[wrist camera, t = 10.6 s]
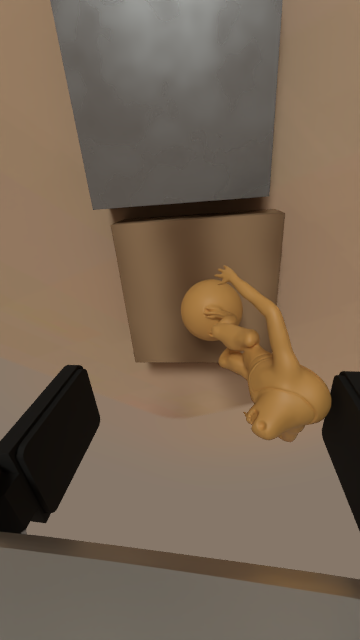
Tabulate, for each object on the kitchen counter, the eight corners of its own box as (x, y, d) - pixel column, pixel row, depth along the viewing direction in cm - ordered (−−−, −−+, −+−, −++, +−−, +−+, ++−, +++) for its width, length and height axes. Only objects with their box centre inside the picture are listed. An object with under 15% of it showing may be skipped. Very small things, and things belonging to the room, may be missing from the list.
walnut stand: (274, 209, 19) (285, 213, 16) (264, 342, 24) (270, 362, 21) (124, 219, 20) (110, 224, 17) (143, 343, 25) (135, 362, 22)
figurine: (169, 248, 18) (105, 342, 7) (261, 225, 16) (351, 297, 6) (197, 350, 21) (182, 518, 11) (275, 338, 20) (348, 513, 9)
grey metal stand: (274, -44, 14) (289, -100, 11) (260, 194, 18) (269, 196, 16) (71, -6, 15) (40, -47, 12) (109, 206, 20) (93, 209, 17)
